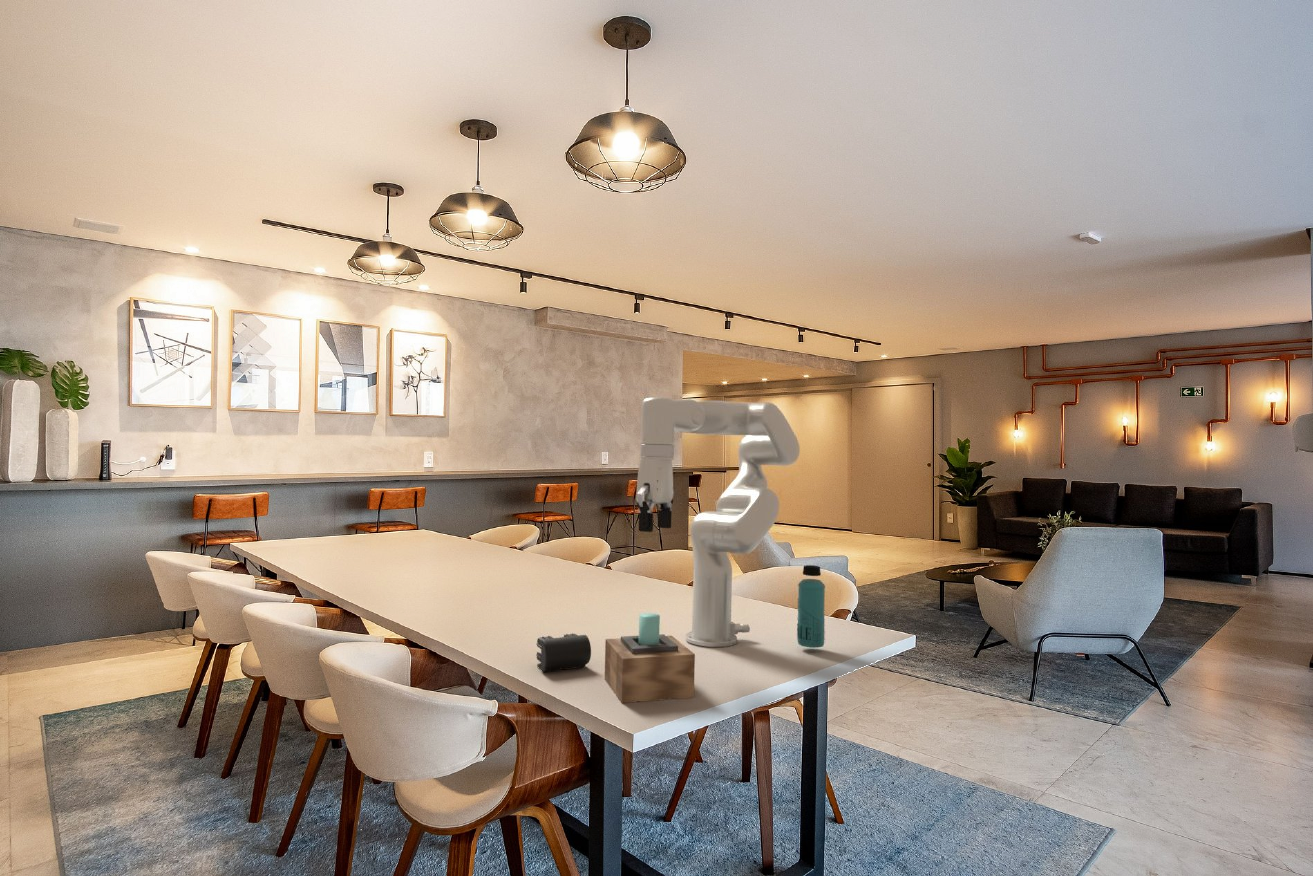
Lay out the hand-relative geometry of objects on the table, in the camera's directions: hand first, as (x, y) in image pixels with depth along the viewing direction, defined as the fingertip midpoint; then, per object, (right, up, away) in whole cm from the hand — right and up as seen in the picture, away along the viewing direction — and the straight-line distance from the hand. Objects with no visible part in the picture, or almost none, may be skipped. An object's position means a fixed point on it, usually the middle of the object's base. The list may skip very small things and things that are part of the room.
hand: (655, 529), depth 158 cm
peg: (-1, -23, -20) cm, 31 cm away
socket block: (-1, -28, -20) cm, 35 cm away
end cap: (-19, -28, -9) cm, 36 cm away
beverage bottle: (+37, -30, +9) cm, 48 cm away
